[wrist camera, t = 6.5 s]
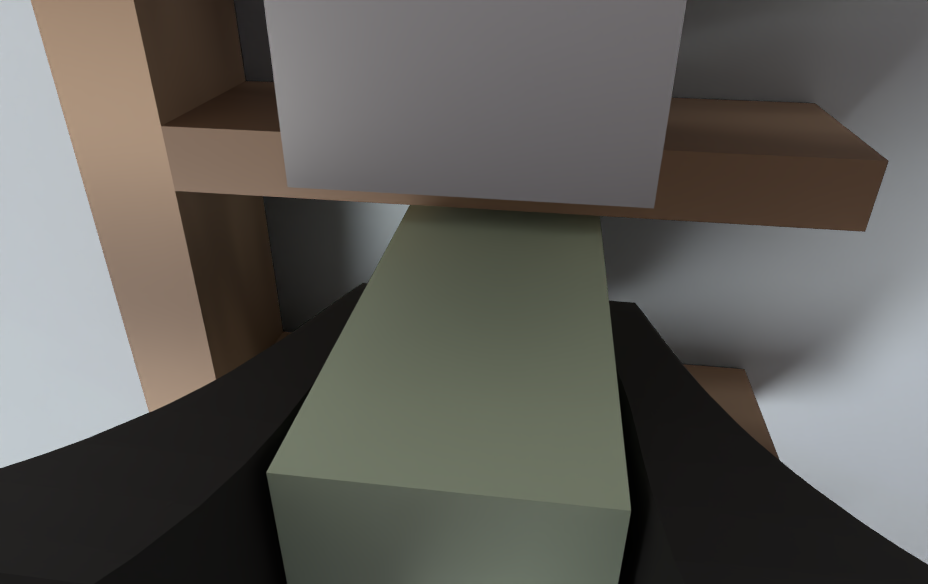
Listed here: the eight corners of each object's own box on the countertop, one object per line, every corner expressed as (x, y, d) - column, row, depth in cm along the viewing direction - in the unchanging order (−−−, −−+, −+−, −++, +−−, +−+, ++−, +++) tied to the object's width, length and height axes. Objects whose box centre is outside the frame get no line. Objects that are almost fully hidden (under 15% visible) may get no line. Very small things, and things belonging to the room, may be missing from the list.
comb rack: (689, 575, 17) (711, 693, 15) (260, 525, 19) (210, 625, 16) (929, -332, 9) (1088, -437, 6) (89, -308, 10) (-80, -387, 7)
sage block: (580, 340, 13) (592, 722, 7) (425, 328, 13) (305, 681, 7) (597, 191, 11) (631, 510, 5) (421, 182, 12) (266, 472, 6)
